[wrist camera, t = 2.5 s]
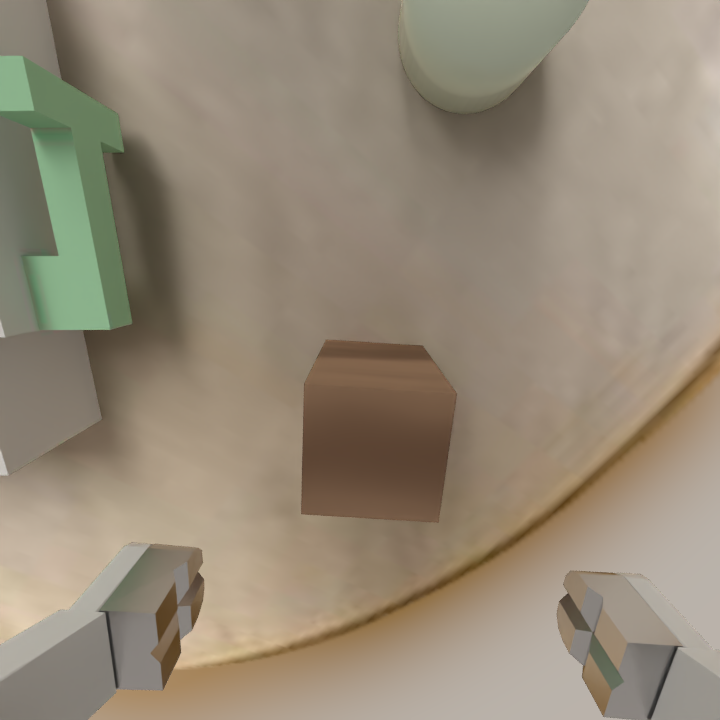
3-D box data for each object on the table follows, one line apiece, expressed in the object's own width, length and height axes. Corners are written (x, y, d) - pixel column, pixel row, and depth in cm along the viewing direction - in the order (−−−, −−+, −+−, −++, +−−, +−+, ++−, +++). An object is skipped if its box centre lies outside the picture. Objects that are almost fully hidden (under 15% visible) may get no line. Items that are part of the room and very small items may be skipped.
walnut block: (326, 339, 18) (304, 384, 12) (422, 345, 18) (456, 393, 12) (322, 427, 20) (301, 514, 13) (412, 433, 20) (438, 522, 13)
